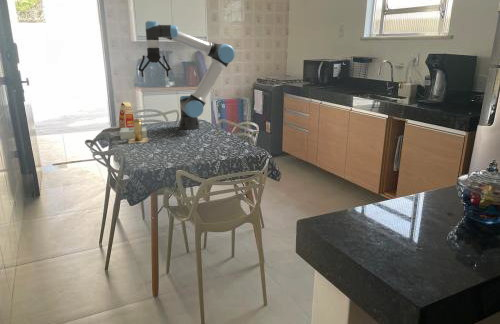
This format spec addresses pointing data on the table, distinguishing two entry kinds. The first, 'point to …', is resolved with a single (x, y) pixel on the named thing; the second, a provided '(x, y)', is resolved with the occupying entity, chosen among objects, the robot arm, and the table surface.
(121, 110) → the milk carton
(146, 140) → the pad
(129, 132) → the housing
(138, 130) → the plug
